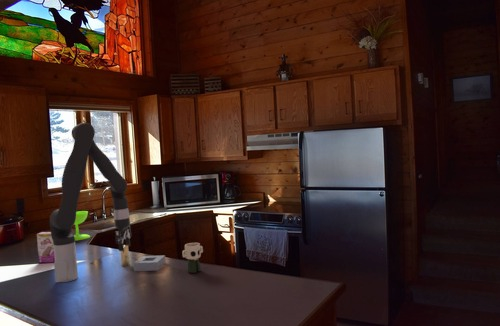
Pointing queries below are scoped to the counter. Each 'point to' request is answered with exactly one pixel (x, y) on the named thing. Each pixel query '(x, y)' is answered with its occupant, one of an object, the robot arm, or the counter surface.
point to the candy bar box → (45, 247)
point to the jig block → (149, 263)
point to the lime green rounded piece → (79, 219)
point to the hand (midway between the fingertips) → (124, 248)
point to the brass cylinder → (125, 256)
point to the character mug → (193, 256)
